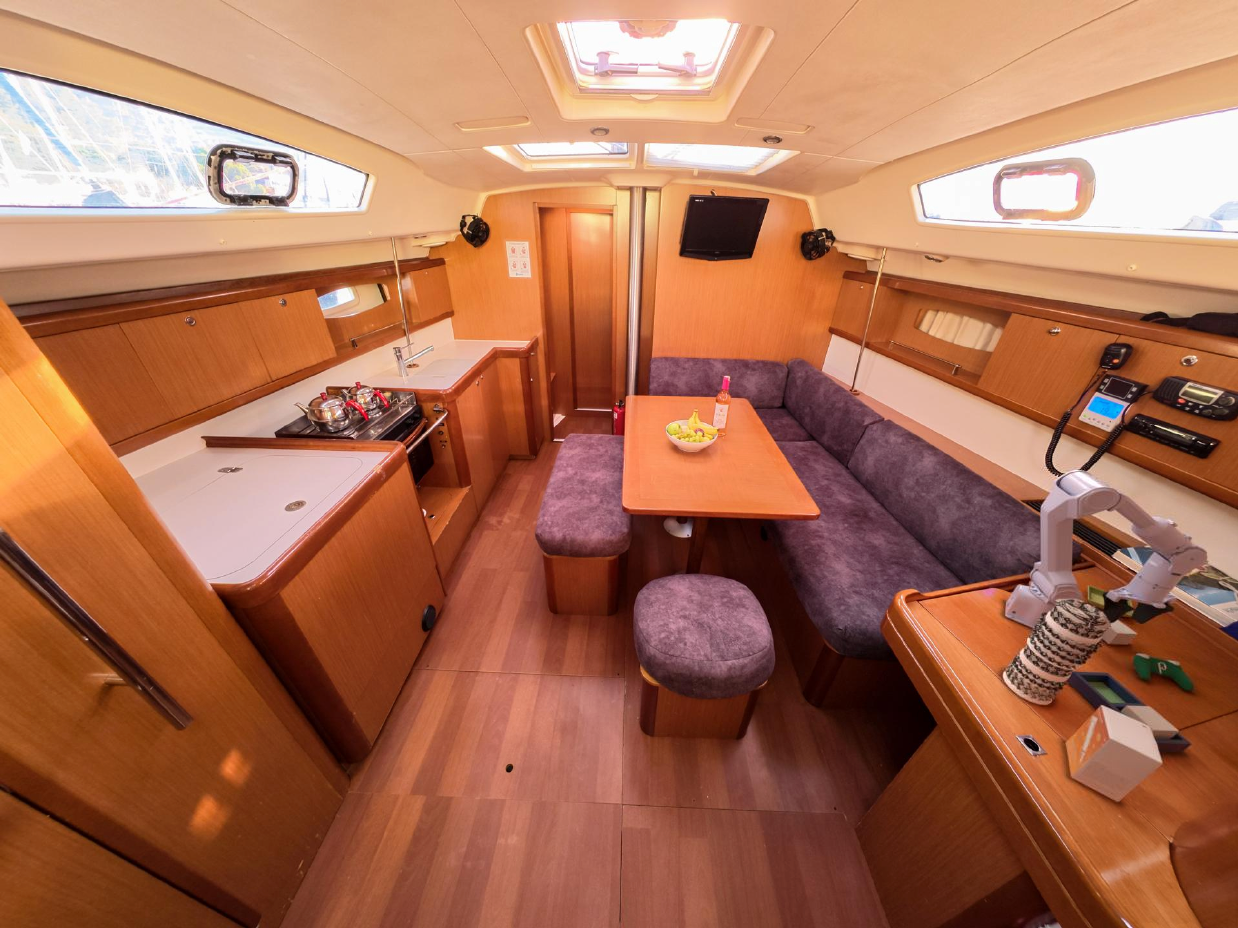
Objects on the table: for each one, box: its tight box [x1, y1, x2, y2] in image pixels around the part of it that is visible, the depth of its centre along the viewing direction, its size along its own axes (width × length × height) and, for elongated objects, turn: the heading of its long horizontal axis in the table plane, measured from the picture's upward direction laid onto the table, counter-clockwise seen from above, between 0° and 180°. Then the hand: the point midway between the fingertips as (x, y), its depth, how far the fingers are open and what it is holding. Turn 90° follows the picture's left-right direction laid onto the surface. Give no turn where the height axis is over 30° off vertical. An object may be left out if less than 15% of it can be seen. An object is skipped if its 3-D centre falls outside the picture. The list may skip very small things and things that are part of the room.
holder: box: [1067, 671, 1193, 754], centre depth 86 cm, size 8×15×3 cm, turn 179°
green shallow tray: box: [1087, 585, 1134, 618], centre depth 115 cm, size 9×9×2 cm
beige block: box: [1121, 705, 1180, 739], centre depth 82 cm, size 5×5×4 cm
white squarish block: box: [1101, 619, 1138, 645], centre depth 104 cm, size 5×5×4 cm
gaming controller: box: [1132, 653, 1195, 692], centre depth 94 cm, size 9×4×6 cm
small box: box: [1065, 705, 1164, 803], centre depth 73 cm, size 8×6×13 cm
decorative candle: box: [1002, 599, 1111, 706], centre depth 86 cm, size 9×9×25 cm
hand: (1121, 620), depth 102 cm, fingers open, 7 cm apart
